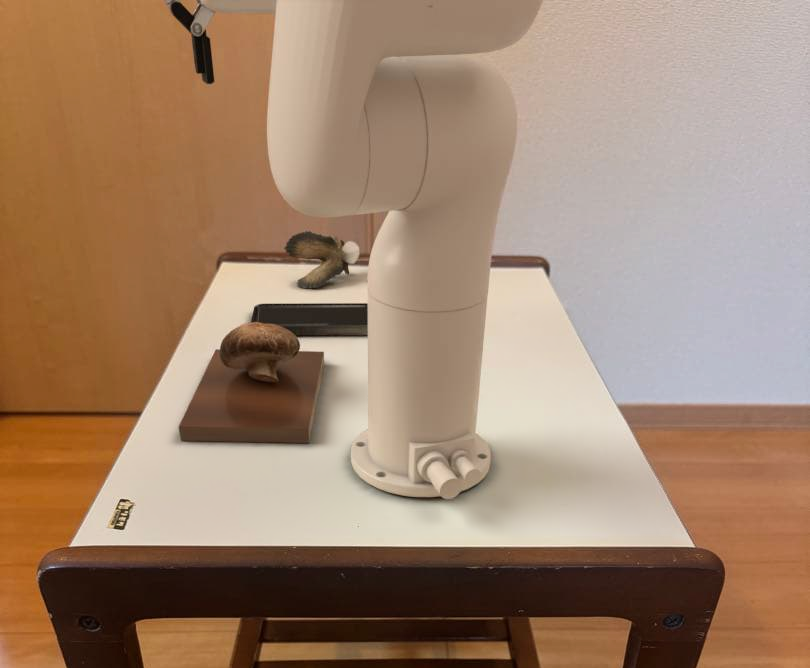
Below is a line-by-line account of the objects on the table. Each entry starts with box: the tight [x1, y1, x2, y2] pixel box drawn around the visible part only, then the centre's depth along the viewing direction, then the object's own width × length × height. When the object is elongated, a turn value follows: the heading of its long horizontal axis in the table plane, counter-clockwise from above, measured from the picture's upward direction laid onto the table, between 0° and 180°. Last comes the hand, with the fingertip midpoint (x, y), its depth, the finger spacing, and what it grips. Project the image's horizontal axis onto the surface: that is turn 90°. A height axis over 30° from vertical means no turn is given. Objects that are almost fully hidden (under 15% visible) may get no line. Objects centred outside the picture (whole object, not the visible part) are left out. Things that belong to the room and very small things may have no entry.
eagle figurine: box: [283, 230, 361, 289], centre depth 110 cm, size 8×7×9 cm
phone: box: [250, 302, 368, 336], centre depth 97 cm, size 8×1×15 cm
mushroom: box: [219, 322, 301, 382], centre depth 80 cm, size 8×8×6 cm
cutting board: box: [178, 348, 325, 444], centre depth 80 cm, size 18×12×2 cm, turn 0°
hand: (255, 81), depth 81 cm, fingers open, 9 cm apart
